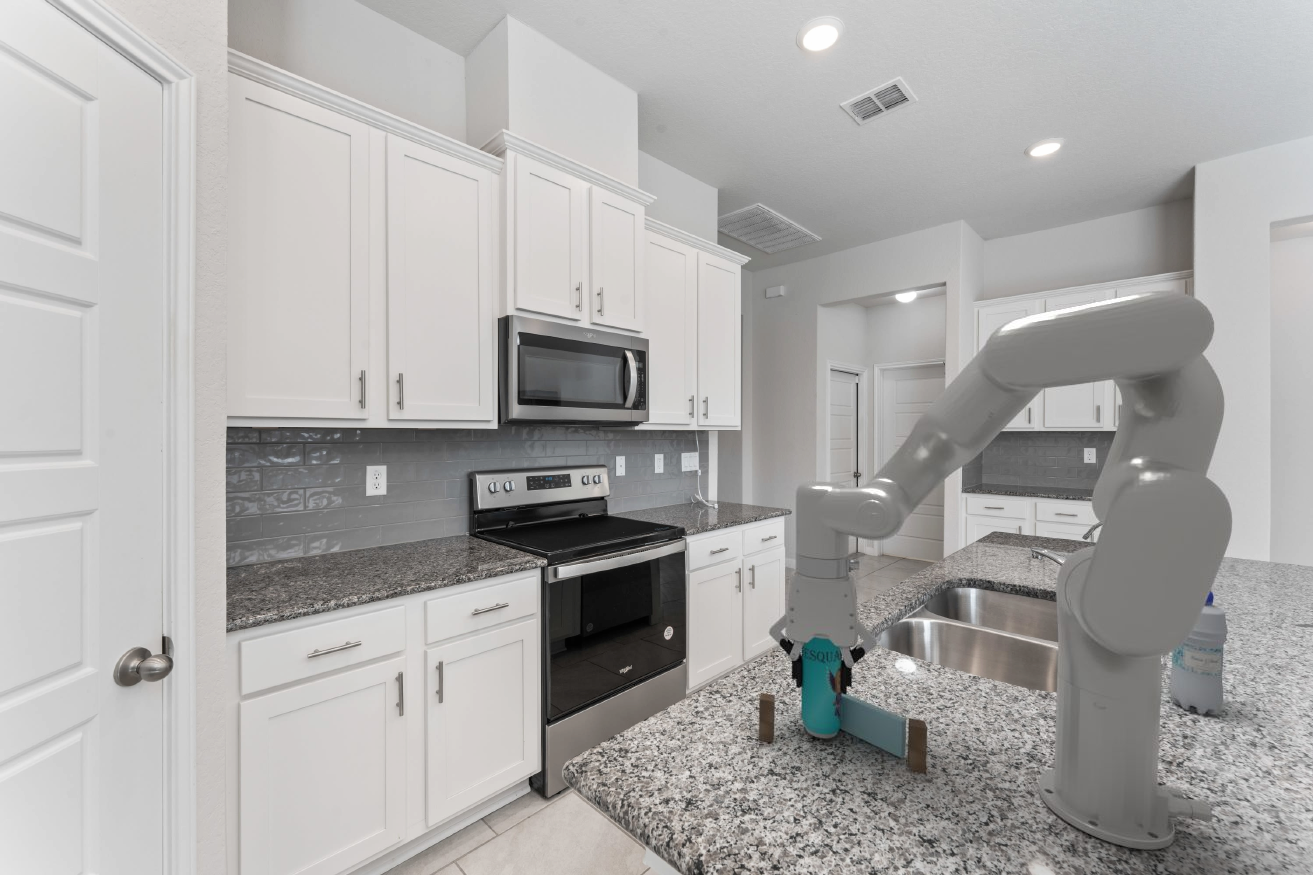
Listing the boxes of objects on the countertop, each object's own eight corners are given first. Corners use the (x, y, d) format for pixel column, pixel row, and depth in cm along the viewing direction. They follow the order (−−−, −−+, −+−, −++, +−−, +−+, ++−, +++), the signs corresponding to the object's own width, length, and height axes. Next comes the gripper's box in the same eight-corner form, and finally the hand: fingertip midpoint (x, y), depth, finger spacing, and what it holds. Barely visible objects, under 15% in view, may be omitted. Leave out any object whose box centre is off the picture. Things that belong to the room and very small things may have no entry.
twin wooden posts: (923, 761, 75) (924, 718, 75) (926, 773, 72) (927, 728, 72) (760, 732, 81) (761, 692, 81) (758, 741, 79) (758, 700, 79)
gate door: (905, 754, 76) (906, 718, 76) (901, 757, 75) (902, 721, 75) (806, 707, 88) (807, 676, 88) (802, 709, 87) (803, 679, 87)
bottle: (1175, 711, 89) (1180, 589, 88) (1161, 693, 95) (1165, 579, 94) (1232, 723, 85) (1237, 596, 85) (1213, 703, 91) (1218, 585, 91)
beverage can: (833, 745, 77) (834, 639, 77) (795, 732, 81) (795, 630, 81) (847, 728, 82) (847, 628, 82) (810, 716, 85) (810, 620, 85)
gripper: (882, 564, 82) (881, 683, 82) (765, 556, 87) (765, 668, 87) (887, 577, 75) (886, 708, 75) (759, 567, 80) (759, 690, 80)
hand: (821, 685), depth 81 cm, fingers closed on beverage can, 5 cm apart
